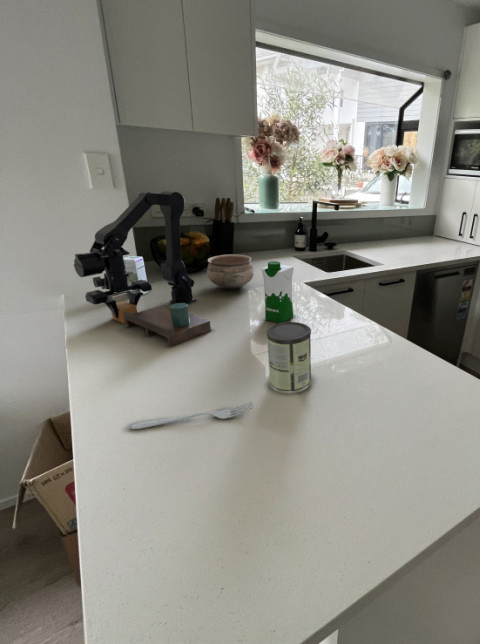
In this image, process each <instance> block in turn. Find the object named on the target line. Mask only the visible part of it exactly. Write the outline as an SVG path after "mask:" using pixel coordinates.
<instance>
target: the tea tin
mask: <svg viewBox="0 0 480 644" xmlns="http://www.w3.org/2000/svg"><path fill="white" fill-rule="evenodd" d="M188 305H189V304H188V303H187V304H186V303H173V304H171V305H169V306H170V312H171V319H172V325H173V326H174V327H185V326H188V325H189V324H190V318H189V313H190V311H189V306H188Z"/></svg>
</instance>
